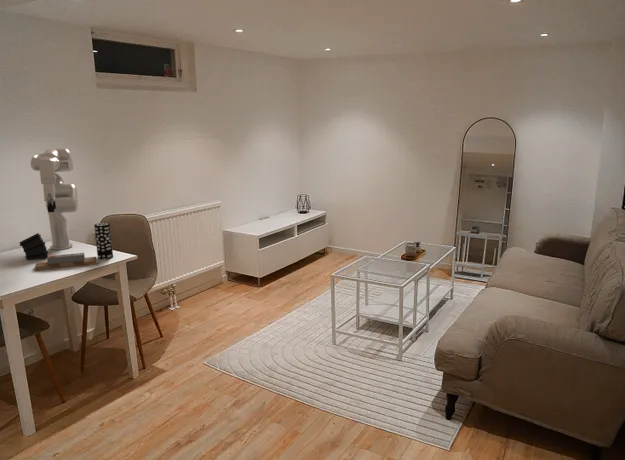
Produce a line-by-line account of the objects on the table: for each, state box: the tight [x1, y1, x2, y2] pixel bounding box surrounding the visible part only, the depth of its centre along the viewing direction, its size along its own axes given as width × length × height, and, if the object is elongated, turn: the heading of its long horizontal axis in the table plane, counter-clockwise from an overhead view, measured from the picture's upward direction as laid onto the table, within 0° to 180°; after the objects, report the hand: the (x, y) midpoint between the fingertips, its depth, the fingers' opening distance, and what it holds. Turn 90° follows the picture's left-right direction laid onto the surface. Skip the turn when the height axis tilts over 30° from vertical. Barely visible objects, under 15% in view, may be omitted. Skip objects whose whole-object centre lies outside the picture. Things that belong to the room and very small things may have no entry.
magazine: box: [19, 232, 49, 261], centre depth 278 cm, size 4×13×15 cm, turn 104°
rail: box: [34, 256, 98, 272], centre depth 267 cm, size 8×30×2 cm, turn 113°
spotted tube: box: [93, 222, 114, 261], centre depth 280 cm, size 8×8×20 cm
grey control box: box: [46, 252, 86, 264], centre depth 266 cm, size 4×18×7 cm, turn 113°
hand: (52, 210), depth 274 cm, fingers open, 9 cm apart
